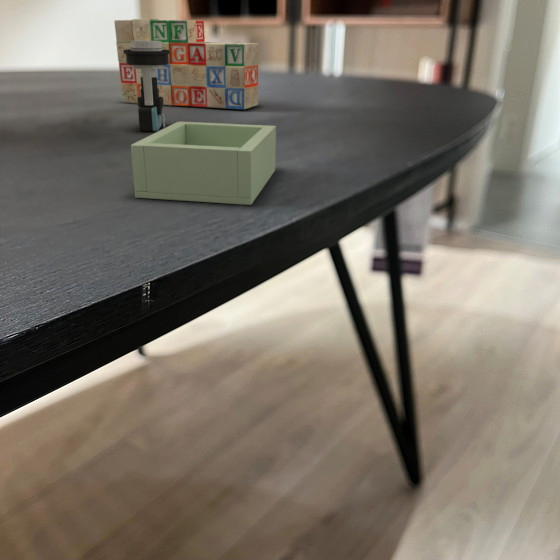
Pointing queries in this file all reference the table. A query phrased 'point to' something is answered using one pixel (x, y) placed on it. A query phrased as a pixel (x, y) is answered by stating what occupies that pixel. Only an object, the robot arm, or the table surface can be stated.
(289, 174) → the table surface
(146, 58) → the push button
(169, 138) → the open green box
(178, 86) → the stack of blocks
